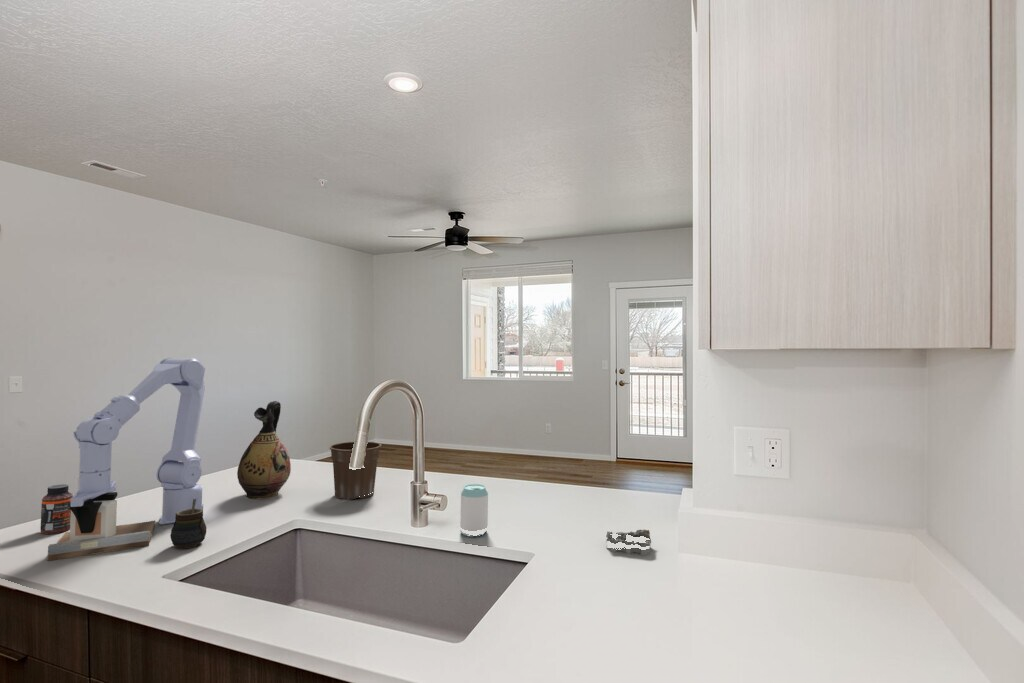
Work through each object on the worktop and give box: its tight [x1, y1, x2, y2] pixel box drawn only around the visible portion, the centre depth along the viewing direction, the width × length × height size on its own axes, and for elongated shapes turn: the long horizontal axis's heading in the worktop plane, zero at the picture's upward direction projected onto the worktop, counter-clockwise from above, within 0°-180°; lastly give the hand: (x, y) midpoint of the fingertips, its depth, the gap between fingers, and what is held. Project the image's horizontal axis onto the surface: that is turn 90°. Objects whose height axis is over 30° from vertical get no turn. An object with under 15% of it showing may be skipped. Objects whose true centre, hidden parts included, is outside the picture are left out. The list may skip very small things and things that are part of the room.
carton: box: [69, 499, 118, 542], centre depth 118 cm, size 4×7×8 cm, turn 104°
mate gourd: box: [169, 499, 207, 550], centre depth 120 cm, size 7×8×10 cm
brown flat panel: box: [47, 520, 156, 562], centre depth 122 cm, size 18×16×1 cm
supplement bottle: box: [39, 483, 74, 535], centre depth 128 cm, size 6×6×11 cm
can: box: [459, 483, 489, 538], centre depth 131 cm, size 7×7×12 cm
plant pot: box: [329, 441, 382, 501], centre depth 164 cm, size 16×16×16 cm
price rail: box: [47, 531, 150, 556], centre depth 115 cm, size 18×1×2 cm, turn 121°
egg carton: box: [605, 529, 652, 556], centre depth 122 cm, size 11×8×4 cm
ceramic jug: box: [236, 400, 292, 500], centre depth 163 cm, size 17×15×30 cm
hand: (93, 528), depth 117 cm, fingers closed on carton, 4 cm apart
